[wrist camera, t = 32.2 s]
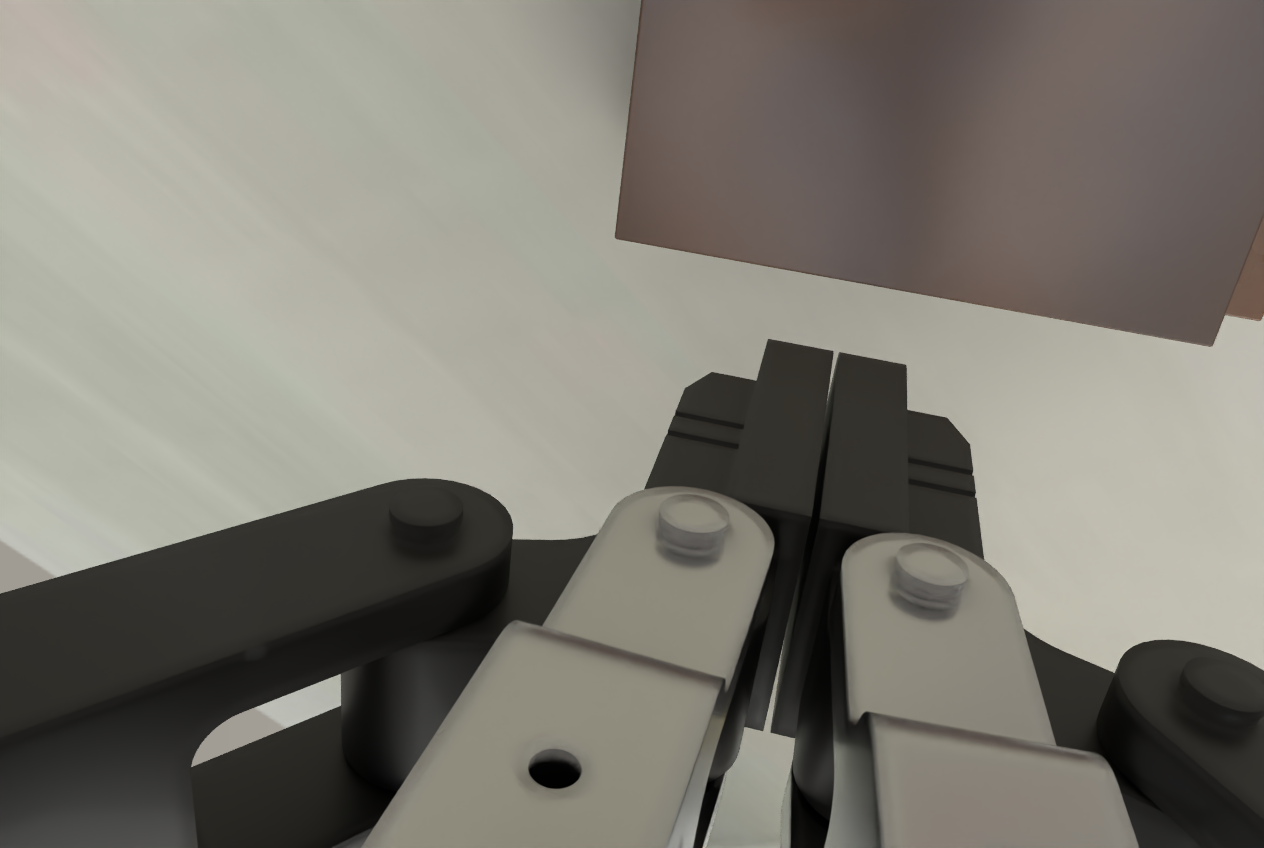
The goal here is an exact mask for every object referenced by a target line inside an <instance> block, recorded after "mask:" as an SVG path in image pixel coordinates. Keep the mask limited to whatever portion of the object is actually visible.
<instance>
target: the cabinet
mask: <svg viewBox="0 0 1264 848" xmlns="http://www.w3.org/2000/svg"><path fill="white" fill-rule="evenodd" d="M1263 217H1264V0H641V8H640V17H639V26H638V35H637V44H636V53H635V62H634V71H633V80H632V89H631V98H630V106H629V115H628V124H627V133H626V142H625V151H624V160H623V169H622V178H621V187H620V196H619V204H618V213H617V222H616V231H615V238H616V239H619V240H625V241H630V242H636V243H641V244H647V245H652V246H658V247H663V248H669V249H674V250H680V251H685V252H691V253H696V254H702V255H707V256H713V257H718V258H724V259H729V260H735V261H741V262H746V263H752V264H757V265H763V266H768V267H774V268H779V269H785V270H790V271H796V272H801V273H807V274H812V275H818V276H823V277H829V278H834V279H840V280H845V281H851V282H856V283H862V284H867V285H873V286H878V287H884V288H889V289H895V290H900V291H906V292H911V293H917V294H922V295H928V296H933V297H939V298H945V299H950V300H956V301H961V302H967V303H972V304H978V305H983V306H989V307H994V308H1000V309H1005V310H1011V311H1016V312H1022V313H1027V314H1033V315H1038V316H1044V317H1049V318H1055V319H1060V320H1066V321H1071V322H1077V323H1082V324H1088V325H1093V326H1099V327H1104V328H1110V329H1115V330H1121V331H1126V332H1132V333H1137V334H1143V335H1149V336H1154V337H1160V338H1165V339H1171V340H1176V341H1182V342H1187V343H1193V344H1198V345H1204V346H1209V347H1211V346H1213V344H1214V341H1215V339H1216V336H1217V334H1218V331H1219V329H1220V326H1221V323H1222V321H1223V318H1224V316H1225V313H1226V311H1227V308H1228V306H1229V303H1230V301H1231V298H1232V296H1233V293H1234V291H1235V288H1236V285H1237V283H1238V280H1239V278H1240V275H1241V273H1242V270H1243V268H1244V265H1245V263H1246V260H1247V258H1248V255H1249V253H1250V250H1251V248H1252V245H1253V242H1254V240H1255V237H1256V235H1257V232H1258V230H1259V227H1260V225H1261V222H1262V220H1263Z"/></svg>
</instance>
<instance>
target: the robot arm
mask: <svg viewBox="0 0 1264 848" xmlns="http://www.w3.org/2000/svg"><path fill="white" fill-rule="evenodd" d="M832 360H833V351H829V350H824V349H819V348H813V347H808V346H803V345H798V344H792V343H787V342H782V341H777V340H771V339H768V341H767V345H766V348H765V352H764V356H763V359H762V363H761V367H760V370H759V374H758V378H757V381H755V380H750V379H745V378H740V377H735V376H729V375H724V374H719V373H714V372H711V373H710V374H708V375H706V376H705V377H703V378H701V379H700V380H698V381H696V382H695V383H693V384H691V385H690V386H688V387H686V388H685V390H684V392H683V395H682V397H681V400H680V402H679V405H678V407H677V410H676V413H675V416H674V417H673V420H672V422H671V424H670V427H669V429H668V434H667V435H666V437H665V439H664V442H663V444H662V447H661V449H660V452H659V454H658V457H657V459H656V462H655V464H654V467H653V469H652V471H651V474H650V476H649V479H648V481H647V484H646V486H645V489H644V490H642V491H639V492H636V493H633V494H631V495H629V496H627V497H625V498H624V499H623V500H621V501H620V502H619V503H617V505H616V506H615V507H614V508H613V510H612V511H611V513H610V514H609V516H608V518H607V519H606V521H605V523H604V524H603V526H602V528H601V529H600V531H599V533H598V534H597V535H593V536H588V537H584V538H577V539H568V540H517V539H512V535H513V523H512V519H511V516H510V514H509V513H508V511H507V510H506V508H505V507H504V506H503V505H502V504H501V503H500V502H499V501H498V500H497V499H495V498H494V497H492V496H491V495H490V494H488V493H486V492H484V491H482V490H480V489H477V488H475V487H472V486H469V485H466V484H462V483H458V482H454V481H448V480H441V479H427V478H422V479H406V480H398V481H393V482H389V483H385V484H381V485H377V486H374V487H370V488H367V489H363V490H360V491H356V492H353V493H349V494H346V495H342V496H339V497H335V498H332V499H329V500H325V501H322V502H318V503H315V504H311V505H308V506H304V507H301V508H297V509H294V510H290V511H287V512H283V513H280V514H276V515H273V516H269V517H266V518H262V519H259V520H255V521H252V522H248V523H245V524H241V525H238V526H235V527H231V528H228V529H224V530H221V531H217V532H214V533H210V534H207V535H203V536H200V537H196V538H193V539H189V540H186V541H182V542H179V543H175V544H172V545H168V546H165V547H161V548H158V549H154V550H151V551H148V552H144V553H141V554H137V555H134V556H130V557H127V558H123V559H120V560H116V561H113V562H109V563H106V564H102V565H99V566H95V567H92V568H88V569H85V570H81V571H78V572H74V573H71V574H67V575H64V576H60V577H57V578H54V579H50V580H47V581H43V582H40V583H36V584H33V585H29V586H26V587H22V588H19V589H15V590H12V591H8V592H5V593H1V594H0V848H706V847H707V844H708V840H709V837H710V834H711V830H712V827H713V823H714V820H715V817H716V813H717V810H718V807H719V803H720V800H721V797H722V792H723V787H724V783H725V778H726V773H727V770H728V769H729V768H730V767H731V766H732V765H733V763H734V761H735V760H736V758H737V756H738V752H739V749H740V745H741V740H742V736H743V731H744V727H748V728H752V729H756V730H760V731H763V729H764V725H765V720H766V716H767V712H768V707H769V703H770V698H771V694H772V690H773V685H774V681H775V676H776V672H777V668H778V663H779V659H780V654H781V650H782V645H783V650H782V657H781V664H780V671H779V677H778V684H777V691H776V698H775V705H774V711H773V718H772V725H771V733H775V734H779V735H783V736H787V737H792V738H796V739H795V747H794V756H793V761H792V765H791V769H790V773H789V777H788V781H787V785H786V789H785V793H784V797H783V802H782V809H781V846H780V848H1264V671H1263V670H1262V669H1260V668H1258V667H1256V666H1254V665H1253V664H1251V663H1249V662H1247V661H1245V660H1243V659H1240V658H1238V657H1236V656H1234V655H1232V654H1229V653H1226V652H1224V651H1221V650H1218V649H1215V648H1212V647H1208V646H1205V645H1201V644H1197V643H1191V642H1186V641H1177V640H1153V641H1148V642H1143V643H1140V644H1138V645H1135V646H1133V647H1132V648H1130V649H1129V650H1128V651H1126V652H1125V653H1124V655H1123V656H1122V658H1121V659H1120V662H1119V664H1118V666H1117V669H1116V671H1115V673H1113V672H1111V671H1109V670H1106V669H1104V668H1101V667H1099V666H1097V665H1094V664H1092V663H1090V662H1087V661H1085V660H1082V659H1080V658H1078V657H1075V656H1073V655H1071V654H1068V653H1066V652H1064V651H1062V650H1060V649H1057V648H1055V647H1053V646H1051V645H1049V644H1047V643H1046V642H1044V641H1042V640H1040V639H1039V638H1037V637H1035V636H1034V635H1032V634H1031V633H1029V632H1028V631H1026V630H1025V629H1024V628H1023V625H1022V622H1021V618H1020V615H1019V611H1018V607H1017V604H1016V600H1015V597H1014V594H1013V592H1012V590H1011V587H1010V586H1009V584H1008V583H1007V581H1006V580H1005V578H1004V577H1003V576H1002V575H1001V574H1000V573H999V572H998V571H997V570H996V569H995V568H993V567H992V566H991V565H990V564H988V563H987V562H986V561H984V556H983V547H982V539H981V531H980V523H979V515H978V506H977V498H975V493H976V490H975V482H974V476H972V473H973V465H972V457H971V449H970V444H969V443H968V442H967V440H966V439H965V438H964V437H963V436H962V435H961V433H960V432H959V431H958V430H957V429H956V428H955V426H954V425H953V424H952V423H951V422H950V421H949V419H948V418H946V417H940V416H935V415H930V414H925V413H920V412H915V411H910V410H907V368H906V365H904V364H899V363H893V362H888V361H883V360H878V359H872V358H867V357H862V356H856V355H851V354H846V353H841V352H839V354H838V358H837V362H836V366H835V370H834V374H833V378H832V383H831V387H830V392H829V396H828V390H829V383H830V375H831V367H832ZM827 398H828V401H827ZM783 641H784V643H783ZM339 674H341V706H339V707H337V708H335V709H332V710H330V711H327V712H325V713H322V714H320V715H318V716H315V717H313V718H310V719H308V720H305V721H303V722H300V723H298V724H296V725H293V726H291V727H288V728H286V729H283V730H281V731H279V732H276V733H274V734H271V735H269V736H267V737H264V738H262V739H259V740H257V741H254V742H252V743H249V744H247V745H245V746H243V747H240V748H237V749H235V750H233V751H230V752H228V753H225V754H223V755H220V756H218V757H216V758H213V759H210V760H208V761H206V762H203V763H201V764H198V765H196V766H193V767H191V764H192V760H193V758H194V755H195V753H196V751H197V749H198V748H199V746H200V744H201V743H202V742H203V741H204V739H205V738H206V737H207V736H208V735H209V734H210V733H211V732H212V731H213V730H214V729H215V728H216V727H218V726H219V725H220V724H221V723H223V722H224V721H226V720H228V719H229V718H231V717H232V716H235V715H237V714H239V713H242V712H244V711H247V710H249V709H252V708H254V707H257V706H259V705H262V704H265V703H267V702H270V701H272V700H275V699H277V698H280V697H282V696H285V695H288V694H290V693H293V692H295V691H298V690H300V689H303V688H305V687H308V686H310V685H313V684H316V683H318V682H321V681H323V680H326V679H328V678H331V677H333V676H336V675H339Z"/></svg>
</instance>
